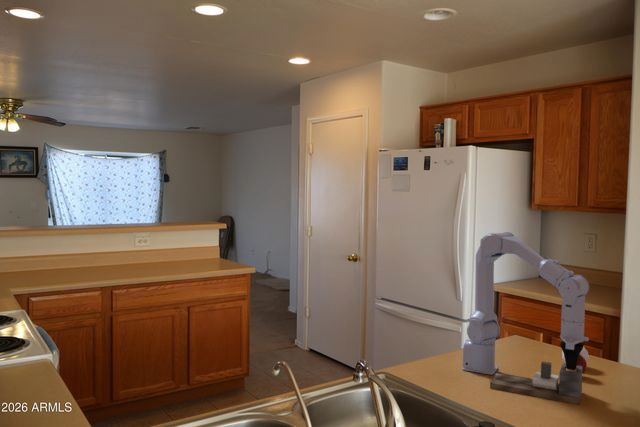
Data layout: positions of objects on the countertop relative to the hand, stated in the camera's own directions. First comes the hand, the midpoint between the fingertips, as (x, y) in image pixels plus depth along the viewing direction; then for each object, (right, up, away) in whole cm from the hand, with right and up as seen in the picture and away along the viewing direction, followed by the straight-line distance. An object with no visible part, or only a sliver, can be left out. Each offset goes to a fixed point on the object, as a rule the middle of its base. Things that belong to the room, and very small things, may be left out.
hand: (571, 369), depth 147 cm
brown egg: (0, -4, 0) cm, 4 cm away
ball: (+13, -7, +26) cm, 30 cm away
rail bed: (-8, -7, +5) cm, 12 cm away
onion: (+9, -7, +17) cm, 21 cm away
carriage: (-6, -6, +3) cm, 9 cm away
